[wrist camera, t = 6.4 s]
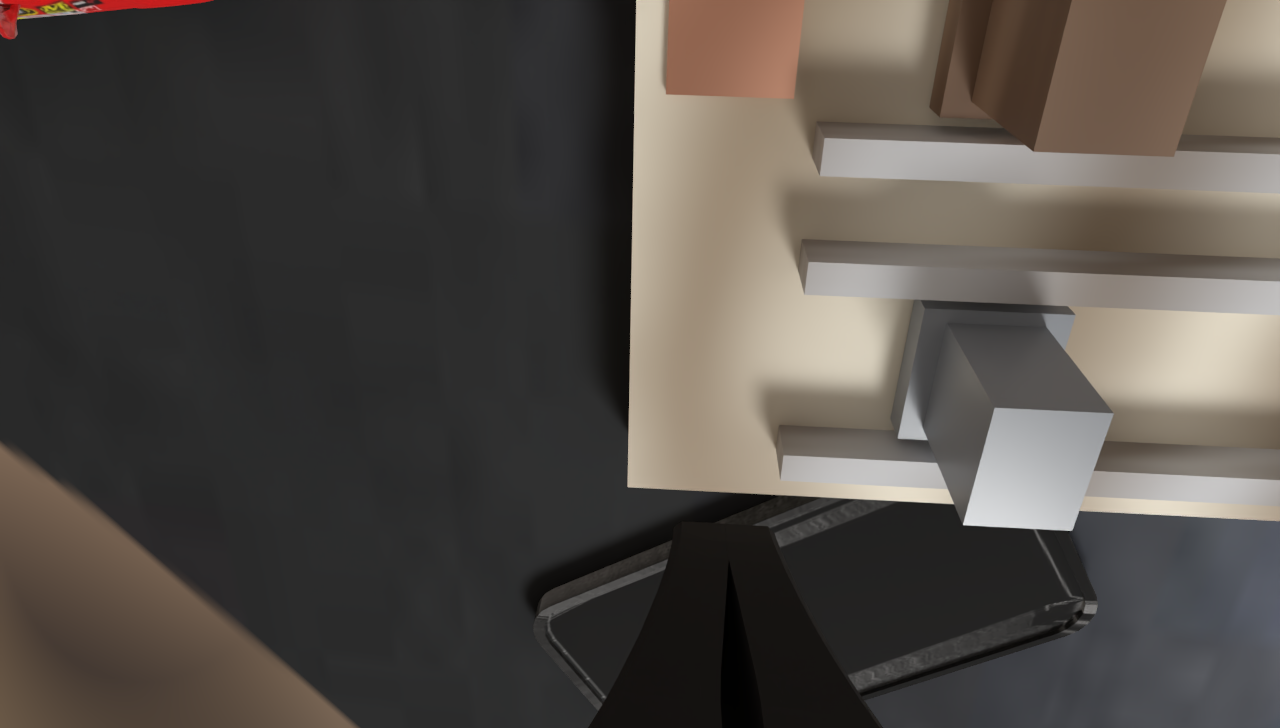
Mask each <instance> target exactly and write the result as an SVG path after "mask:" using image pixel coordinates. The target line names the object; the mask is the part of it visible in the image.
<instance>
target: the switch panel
mask: <svg viewBox="0 0 1280 728" xmlns="http://www.w3.org/2000/svg"><path fill="white" fill-rule="evenodd" d="M948 4H949V0H636V45H635V102H634V158H633V214H632V271H631V327H630V383H629V440H628V487H635V488H655V489H674V490H693V491H712V492H731V493H750V494H770V495H789V496H808V497H827V498H846V499H866V500H885V501H904V502H923V503H942V504H954V503H953V500H952V498H951V495H950V493H949V491H948V488H947V486H946V483H945V481H944V478H943V476H942V474H941V471H940V469H939V466H938V464H937V461H936V459H935V457H934V454H933V452H932V449H931V447H930V445H929V442H928V440H912V439H897V436H896V433H895V430H894V428H893V425H892V422H891V419H890V418H891V413H892V408H893V403H894V398H895V393H896V388H897V383H898V378H899V373H900V368H901V363H902V358H903V353H904V348H905V343H906V338H907V333H908V328H909V323H910V318H911V313H912V308H913V304H914V300H937V301H960V302H983V303H1007V304H1030V305H1053V306H1068V307H1069V308H1070V309H1071V310H1072V311H1073V312H1074V314H1075V315H1076V316H1075V319H1074V323H1073V326H1072V329H1071V332H1070V335H1069V339H1068V342H1067V345H1066V348H1065V351H1066V353H1067V354H1068V355H1069V357H1070V358H1071V359H1072V360H1073V362H1074V363H1075V364H1076V365H1077V367H1078V368H1079V369H1080V371H1081V372H1082V373H1083V374H1084V376H1085V377H1086V378H1087V380H1088V381H1089V382H1090V383H1091V385H1092V386H1093V387H1094V389H1095V390H1096V391H1097V392H1098V394H1099V395H1100V396H1101V397H1102V399H1103V400H1104V401H1105V403H1106V404H1107V405H1108V406H1109V408H1110V409H1111V410H1112V412H1113V413H1114V415H1113V418H1112V420H1111V423H1110V426H1109V429H1108V432H1107V434H1106V437H1105V440H1104V443H1103V446H1102V448H1101V451H1100V454H1099V457H1098V460H1097V462H1096V465H1095V468H1094V471H1093V474H1092V476H1091V479H1090V482H1089V485H1088V488H1087V491H1086V493H1085V496H1084V499H1083V502H1082V505H1081V507H1080V510H1079V511H1096V512H1115V513H1134V514H1153V515H1172V516H1192V517H1211V518H1230V519H1249V520H1268V521H1280V0H1227V1H1226V4H1225V7H1224V10H1223V13H1222V16H1221V19H1220V22H1219V25H1218V28H1217V31H1216V34H1215V37H1214V40H1213V43H1212V46H1211V49H1210V52H1209V55H1208V58H1207V61H1206V63H1205V66H1204V69H1203V72H1202V75H1201V78H1200V81H1199V84H1198V87H1197V90H1196V93H1195V96H1194V99H1193V102H1192V105H1191V108H1190V111H1189V114H1188V117H1187V120H1186V123H1185V126H1184V129H1183V132H1182V134H1181V137H1180V140H1179V143H1178V146H1177V149H1176V152H1175V155H1174V157H1161V156H1133V155H1106V154H1078V153H1051V152H1033V151H1032V150H1030V149H1029V148H1028V147H1027V146H1026V145H1024V144H1023V143H1022V142H1021V141H1019V140H1018V139H1017V138H1016V137H1014V136H1013V135H1012V134H1011V133H1010V132H1008V131H1007V130H1006V129H1005V128H1003V127H1002V126H1001V125H1000V124H998V123H997V122H996V121H995V120H994V119H965V118H940V117H939V116H938V115H937V114H936V113H935V112H934V111H932V110H931V109H930V108H929V105H930V100H931V95H932V89H933V84H934V79H935V73H936V68H937V63H938V57H939V52H940V47H941V41H942V36H943V31H944V25H945V20H946V15H947V9H948Z"/></svg>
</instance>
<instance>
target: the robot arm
mask: <svg viewBox="0 0 1280 728" xmlns="http://www.w3.org/2000/svg"><path fill="white" fill-rule="evenodd" d="M588 728H883V727H882V726H881V724H880V723H879V721H878V720H877V719H876V717H875V716H874V714H873V713H872V711H871V710H870V708H869V707H868V706H867V704H866V703H865V701H864V700H863V698H862V697H861V695H860V694H859V692H858V690H857V689H856V687H855V686H854V684H853V683H852V681H851V680H850V678H849V677H848V675H847V674H846V672H845V670H844V669H843V667H842V666H841V664H840V662H839V661H838V659H837V657H836V656H835V654H834V653H833V651H832V649H831V647H830V646H829V644H828V642H827V640H826V639H825V637H824V635H823V633H822V632H821V630H820V628H819V626H818V625H817V623H816V621H815V619H814V617H813V616H812V614H811V612H810V610H809V608H808V606H807V604H806V603H805V601H804V599H803V597H802V595H801V593H800V591H799V589H798V587H797V585H796V583H795V581H794V579H793V576H792V574H791V572H790V570H789V568H788V566H787V563H786V561H785V559H784V556H783V554H782V552H781V549H780V547H779V544H778V542H777V539H776V536H775V533H774V532H773V531H772V530H771V529H770V528H769V527H768V526H755V525H738V524H720V523H703V522H686V521H682V522H680V523H679V524H677V525H676V526H674V527H673V538H672V544H671V549H670V553H669V557H668V561H667V564H666V568H665V571H664V574H663V577H662V580H661V583H660V585H659V588H658V591H657V594H656V596H655V598H654V601H653V603H652V606H651V608H650V610H649V613H648V615H647V618H646V620H645V623H644V625H643V627H642V629H641V632H640V634H639V636H638V638H637V640H636V642H635V644H634V646H633V648H632V650H631V652H630V654H629V656H628V658H627V660H626V662H625V664H624V666H623V668H622V670H621V672H620V674H619V676H618V678H617V680H616V681H615V683H614V685H613V687H612V689H611V690H610V692H609V694H608V696H607V697H606V699H605V701H604V703H603V704H602V706H601V708H600V709H599V711H598V713H597V714H596V716H595V718H594V719H593V721H592V722H591V724H590V726H589V727H588Z"/></svg>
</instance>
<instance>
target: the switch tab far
mask: <svg viewBox="0 0 1280 728" xmlns="http://www.w3.org/2000/svg"><path fill="white" fill-rule="evenodd" d="M1075 316H1076V315H1075V314H1074V312H1073V311H1072V310H1071V309H1070V308H1069V307H1068V306H1053V305H1030V304H1007V303H983V302H960V301H937V300H914V304H913V308H912V313H911V318H910V323H909V328H908V333H907V338H906V343H905V348H904V353H903V358H902V363H901V368H900V373H899V378H898V383H897V388H896V393H895V398H894V403H893V408H892V413H891V418H890V419H891V422H892V425H893V428H894V430H895V433H896V436H897V439H912V440H928V442H929V445H930V447H931V449H932V452H933V454H934V457H935V459H936V461H937V464H938V466H939V469H940V471H941V474H942V476H943V478H944V481H945V483H946V486H947V488H948V491H949V493H950V495H951V498H952V500H953V503H954V505H955V507H956V510H957V512H958V515H959V517H960V520H961V522H962V524H963V525H969V526H988V527H1006V528H1025V529H1044V530H1063V531H1072V530H1073V527H1074V524H1075V521H1076V519H1077V516H1078V513H1079V510H1080V507H1081V505H1082V502H1083V499H1084V496H1085V493H1086V491H1087V488H1088V485H1089V482H1090V479H1091V476H1092V474H1093V471H1094V468H1095V465H1096V462H1097V460H1098V457H1099V454H1100V451H1101V448H1102V446H1103V443H1104V440H1105V437H1106V434H1107V432H1108V429H1109V426H1110V423H1111V420H1112V418H1113V415H1114V413H1113V412H1112V410H1111V409H1110V408H1109V406H1108V405H1107V404H1106V403H1105V401H1104V400H1103V399H1102V397H1101V396H1100V395H1099V394H1098V392H1097V391H1096V390H1095V389H1094V387H1093V386H1092V385H1091V383H1090V382H1089V381H1088V380H1087V378H1086V377H1085V376H1084V374H1083V373H1082V372H1081V371H1080V369H1079V368H1078V367H1077V365H1076V364H1075V363H1074V362H1073V360H1072V359H1071V358H1070V357H1069V355H1068V354H1067V353H1066V351H1065V348H1066V345H1067V342H1068V339H1069V335H1070V332H1071V329H1072V326H1073V323H1074V319H1075Z"/></svg>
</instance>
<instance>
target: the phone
mask: <svg viewBox="0 0 1280 728" xmlns="http://www.w3.org/2000/svg"><path fill="white" fill-rule="evenodd" d="M715 523H720V524H738V525H755V526H768V527H769V528H770V529H771V530H772V531H773V532H774V533H775V536H776V539H777V542H778V544H779V547H780V549H781V552H782V554H783V556H784V559H785V561H786V563H787V566H788V568H789V570H790V572H791V574H792V576H793V579H794V581H795V583H796V585H797V587H798V589H799V591H800V593H801V595H802V597H803V599H804V601H805V603H806V604H807V606H808V608H809V610H810V612H811V614H812V616H813V617H814V619H815V621H816V623H817V625H818V626H819V628H820V630H821V632H822V633H823V635H824V637H825V639H826V640H827V642H828V644H829V646H830V647H831V649H832V651H833V653H834V654H835V656H836V657H837V659H838V661H839V662H840V664H841V666H842V667H843V669H844V670H845V672H846V674H847V675H848V677H849V678H850V680H851V681H852V683H853V684H854V686H855V687H856V689H857V690H858V692H859V694H860V695H861V697H862V698H863V700H867V699H870V698H873V697H877V696H880V695H883V694H886V693H889V692H892V691H895V690H899V689H902V688H905V687H908V686H911V685H914V684H917V683H920V682H924V681H927V680H930V679H933V678H936V677H939V676H942V675H946V674H949V673H952V672H955V671H958V670H961V669H964V668H967V667H971V666H974V665H977V664H980V663H983V662H986V661H989V660H992V659H996V658H999V657H1002V656H1005V655H1008V654H1011V653H1014V652H1018V651H1021V650H1024V649H1027V648H1030V647H1033V646H1036V645H1039V644H1043V643H1046V642H1049V641H1052V640H1055V639H1058V638H1061V637H1065V636H1067V635H1070V634H1072V633H1074V632H1076V631H1079V630H1080V629H1081V628H1083V627H1084V626H1085V625H1087V624H1088V623H1089V622H1090V621H1091V619H1092V618H1093V617H1094V615H1095V614H1096V610H1097V606H1098V602H1097V597H1096V594H1095V591H1094V589H1093V587H1092V585H1091V582H1090V580H1089V578H1088V576H1087V574H1086V571H1085V569H1084V567H1083V565H1082V562H1081V560H1080V558H1079V556H1078V553H1077V551H1076V549H1075V547H1074V544H1073V542H1072V540H1071V538H1070V536H1069V533H1068V531H1063V530H1044V529H1025V528H1006V527H988V526H969V525H963V524H962V522H961V520H960V517H959V515H958V512H957V510H956V507H955V505H954V504H942V503H923V502H904V501H885V500H866V499H846V498H827V497H808V496H789V495H781V496H779V497H776V498H774V499H771V500H769V501H766V502H764V503H761V504H759V505H757V506H754V507H752V508H749V509H747V510H744V511H742V512H739V513H737V514H735V515H732V516H730V517H727V518H725V519H722V520H720V521H717V522H715ZM671 544H672V540H671V541H669V542H666V543H664V544H661V545H659V546H656V547H654V548H651V549H649V550H647V551H644V552H642V553H639V554H637V555H634V556H632V557H629V558H627V559H625V560H622V561H620V562H617V563H615V564H612V565H610V566H607V567H605V568H603V569H600V570H598V571H595V572H593V573H590V574H588V575H585V576H583V577H581V578H578V579H576V580H573V581H571V582H568V583H566V584H563V585H561V586H559V587H556V588H554V589H552V590H550V591H549V592H547V593H545V594H544V596H543V597H542V598H541V599H540V601H539V604H538V607H537V612H536V616H535V620H534V625H533V630H534V636H535V638H536V639H537V641H538V642H539V644H540V645H541V646H542V648H543V649H544V650H545V651H546V652H547V653H548V654H549V655H550V657H551V658H552V659H553V660H554V661H555V662H556V663H557V665H558V666H559V667H560V668H561V669H562V670H563V671H564V673H565V674H566V675H567V676H568V677H569V678H570V679H571V681H572V682H573V683H574V684H575V685H576V686H577V687H578V689H579V690H580V691H581V692H582V693H583V694H584V695H585V697H586V698H587V699H588V700H589V701H590V702H591V703H592V705H593V706H594V707H595V708H596V709H597V710H598V711H599V709H600V708H601V706H602V704H603V703H604V701H605V699H606V697H607V696H608V694H609V692H610V690H611V689H612V687H613V685H614V683H615V681H616V680H617V678H618V676H619V674H620V672H621V670H622V668H623V666H624V664H625V662H626V660H627V658H628V656H629V654H630V652H631V650H632V648H633V646H634V644H635V642H636V640H637V638H638V636H639V634H640V632H641V629H642V627H643V625H644V623H645V620H646V618H647V615H648V613H649V610H650V608H651V606H652V603H653V601H654V598H655V596H656V594H657V591H658V588H659V585H660V583H661V580H662V577H663V574H664V571H665V568H666V564H667V561H668V557H669V553H670V549H671Z"/></svg>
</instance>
